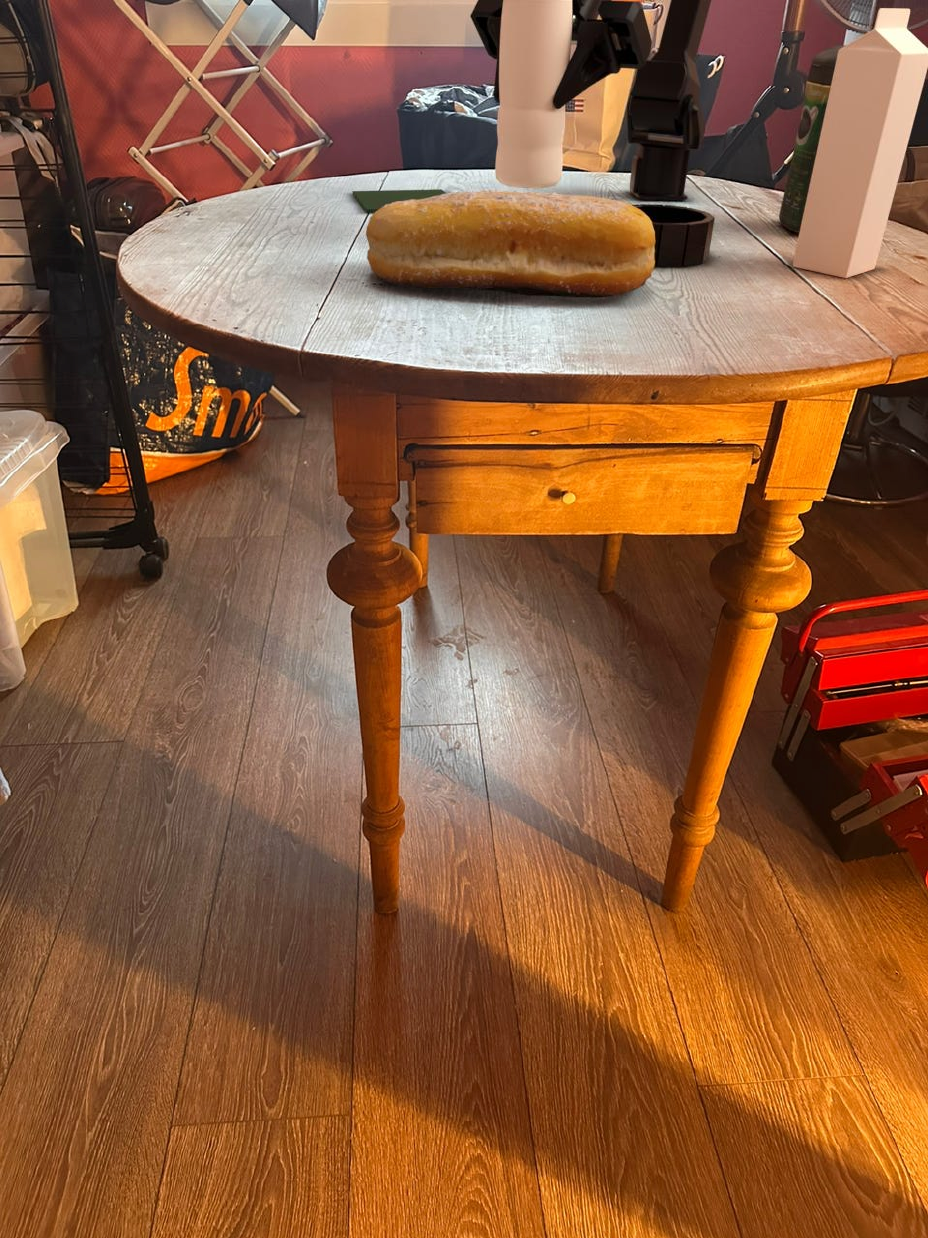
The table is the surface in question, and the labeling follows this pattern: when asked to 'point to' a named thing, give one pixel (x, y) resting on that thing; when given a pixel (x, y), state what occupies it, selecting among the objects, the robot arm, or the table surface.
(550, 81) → the water bottle
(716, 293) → the table surface
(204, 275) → the table surface
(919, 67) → the milk
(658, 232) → the holder
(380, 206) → the mat
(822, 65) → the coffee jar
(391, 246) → the bread
